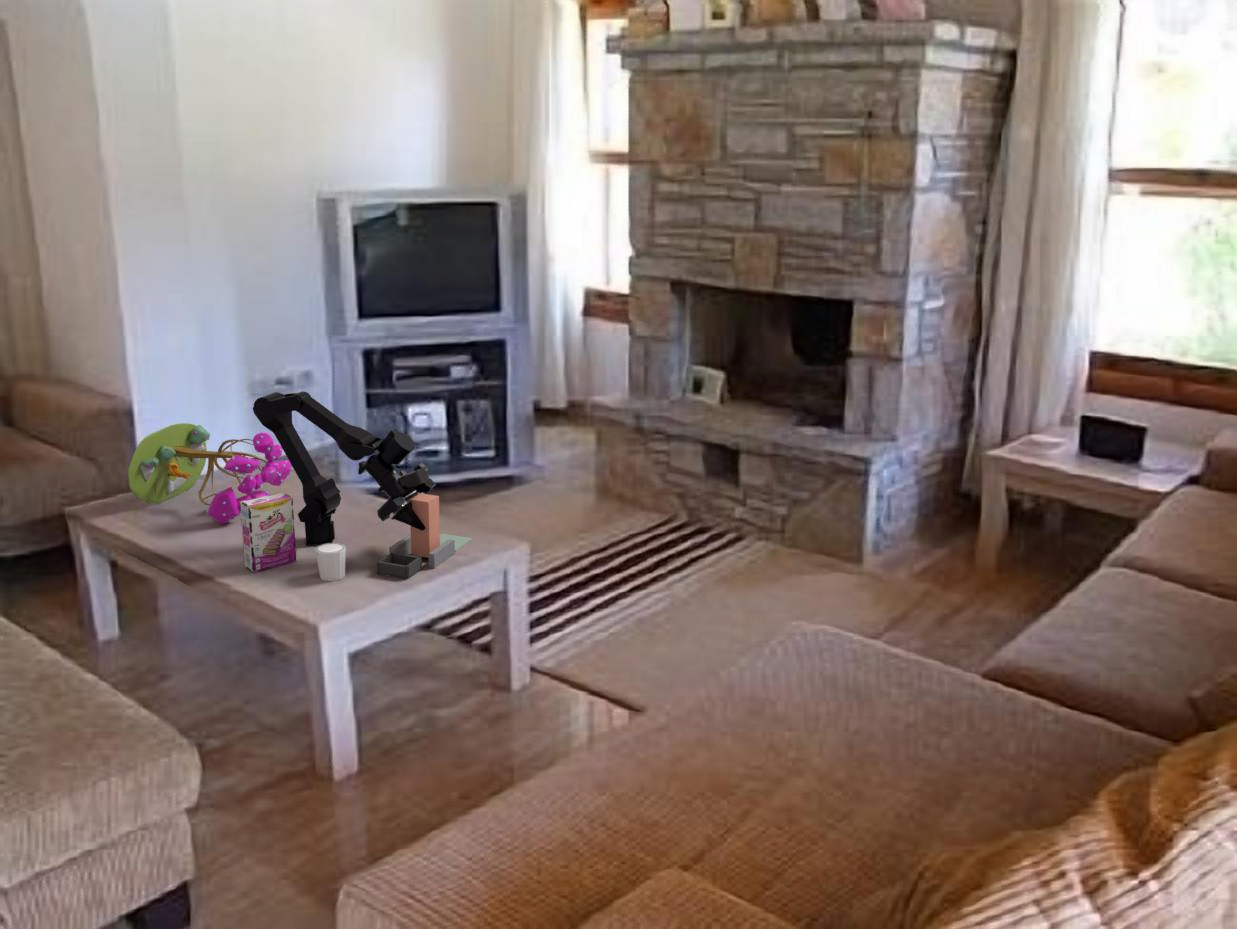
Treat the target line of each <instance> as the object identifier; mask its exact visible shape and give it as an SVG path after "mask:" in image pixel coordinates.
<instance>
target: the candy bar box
mask: <svg viewBox="0 0 1237 929" xmlns="http://www.w3.org/2000/svg"><path fill="white" fill-rule="evenodd" d="M293 500H294V499H293V496H291V495H289V494H287V493H285V492H280V493H279V492H278V493H275V494H270V495H269V496H265V497H260V498H255V499H251V500H246V501H241V502H240V511H241V513H240V520H241V521H240V522H241V533H242V547H243V548H242V550H243V561H244V567H245V568H246V569H247V570H248V571H250V570H251V571H250V572H252V571H253V572H252V573H254V572H255V573H258V572H261V571H264V570H270V569H273V568H276V567H279V566H283V565H288V564H292V563H295V562H297V547H296V532H295V530H296V529H295V519H294V518H295V517H294V514H295V513H294V501H293ZM257 571H258V572H257Z"/></svg>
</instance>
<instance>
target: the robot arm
mask: <svg viewBox="0 0 1237 929" xmlns="http://www.w3.org/2000/svg"><path fill="white" fill-rule="evenodd" d="M252 412H253V414H254V416H255V417H256V418H257V420H258V421H259V422H260V423H261V425H262V426H263V427H264V428H266V429H267V430H269V431H270V432H272V433H273V434H274V437H275V438H276V439H277V441H278V444H279V445H280V446H281V447H282V451H283V452H284V454H285V456H286V457H287V460H289V461H290V463H291V467H292V468H293V470H294V472H295V474H296V476H297V478H298V479H299V481H300V483H301V486H302V498H303V502H304V503H305V506H304V507H303V508H302V509H301V510H300V511H299V512H298V513H297V516H298V520H299V522H300V523H304V534H305V541H304V542H305V543H304V546H305V547H306V546H307V547H310V546H311V547H312V546H320V545H322V544H326V543H334V542H333V541H334V540H335V538H336V530H335V528H336V527H335V521H334V520H332V519H333V518H332V515H334V514H335V513H336V511H337V509H338V507H339V506H340V504H341V501H342V497H341V494H340V493H341V490H340V489H339V488H338V486H337V484H336V482H335V480H334V479H333V478H332V477H331V478H329V479H327V478H325V477H324V476H322V474H321V473H320V472H319V469H318V467H316V464H315V462H314V460H313V459H312V457H311V455H310V453H309V451H308V449H307V448H306V445H304V443H303V440H302V438H301V437H300V436H299V433H298V431H297V430H296V428H295V426H294V424H293V412H297V413H298V414H300V415H301V416H303V417H304V418H305V419H306V420H308V421H309V422H311V424H313V425H315V427H318V429H320V430H321V431H323V432H324V433H326V435H327V436H329V437H331V438H332V439H333V440H334V441H335V443H336V445H337V447H338V449H339V450H340V451H341V452H342V453H343V454H344V455H345V456H346V457H347V458H348V459H349V460H351V461H354V462H355V461H360V460H362V459H364V458H366V457H368V458H367V459H366V460H362V461H361V462H358V469H357V474H358V476H359V475H362V474H364V473H366V472H367V473H368V474H369V476H370V477H371V478H372V479H373V480H374V481H375V482H376V484H377V485H378V486H379V488H378V489H377V491H378V492H379V493H382V492H384V493H385V495H387V497H388V498H389V499H387V501H385V502H384V503H383V504H382V505H381V506H380V507H379V508H378V510H377V517H378V519H380V520H381V522H384V521H387V520H388V519H390V518H391V520H394V521H395V520H396V521H398V522H401V523H403V524H406V525H408V526H410V527H411V526H412V527H415V528H417V529H419V530H421V531H423V530H425V529H426V527H425V526H424V524H423V523H422V521H421V520H420V519H419V517H418V516H417V515H416V513H415V512H414V511H413V508H412V501H410V499H411V498H413V497H415V496H417V495H418V494H420V493H422V494H429V495H431V494H430V493H431V490H433V488H434V487H436V485H437V484H436V483H435V481H434V480H433V479H432V478H430V476H429V474H430V471H431V470H430V469H429V468H428V466H426V464H424V463H423V462H421V463H418V464H416V465H415V466H414V467H413V469H414V470H412V471H411V472H408V473H407V472H406V471H405V469H401V470H398V468H397V467H396V466H399V465H400V464H401V463H402V462H403V461H404V460H406V459H407V457H408V456H409V455H410V454H411V453H412V452H413V451H415V448H416V444H415V442H414V439H412V438H411V436H409V435H407V434H405V433H403V432H401V431H399V430H398V429H397V428H394V429H392V430H390V431H389V432H388V434H387V435H386V437H385V438H382V437H379V436H375V435H374V434H373V433H371V432H369V431H368V430H366V429H363V428H362V427H359V426H356V425H352V424H350V423H347V422H346V421H345V420H343V419H342V418H341V417H339V416H338V415H336V414H335V413H334V412H332V411H331V410H330V409H328V408H327V407H326V406H324V405H323V404H321V403H320V402H319V401H317V400H316V398H315V399H314V398H313V397H312V396H311V394H310V393H309V392H307V391H299V392H291V393H281V392H278V391H274V392H271V393H268V394H266V395H263V396H261V397H258V398H257V399H255V401H254V402H253V407H252ZM377 452H378V453H377ZM375 453H377V454H375ZM391 514H393V516H392V517H391Z"/></svg>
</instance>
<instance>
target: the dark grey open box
mask: <svg viewBox="0 0 1237 929" xmlns="http://www.w3.org/2000/svg"><path fill="white" fill-rule="evenodd" d="M422 558H423V557H421V556H415V555H411V554H407V555H404V554H398V553H390V554H388V555H385V556H383V558H381V559H380V560H378V561H376V572H377V575H379V576H386V577H391V578H400V579H404V580H409V579H410V578H412V577H414V576H415V575H416V574H417V573H419V572H420V571H422V570H423V563H422Z"/></svg>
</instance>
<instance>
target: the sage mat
mask: <svg viewBox="0 0 1237 929" xmlns="http://www.w3.org/2000/svg"><path fill="white" fill-rule="evenodd" d="M448 539H451V540H454V543H455V552H457V551H458V550H460V549H461V548H462V547H464V546H465V545H467V544H468V543H470V542H471V541H472V540H473V539H474V538H473V537H467V536H460V535H454V534H448V533H447V534H446V533H440V545H441V544H443V543H444V542H446V541H447V540H448Z"/></svg>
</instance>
